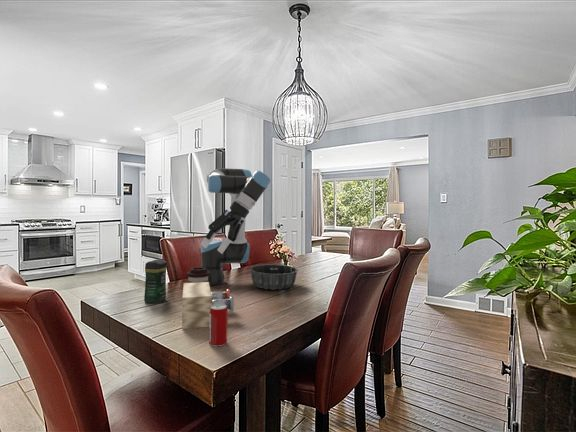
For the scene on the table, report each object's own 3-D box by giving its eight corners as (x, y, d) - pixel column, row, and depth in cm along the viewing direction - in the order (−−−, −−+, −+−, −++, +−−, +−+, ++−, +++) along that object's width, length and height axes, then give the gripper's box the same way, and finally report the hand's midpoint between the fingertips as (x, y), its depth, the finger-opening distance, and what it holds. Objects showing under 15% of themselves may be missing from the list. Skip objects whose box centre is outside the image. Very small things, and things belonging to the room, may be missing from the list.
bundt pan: (307, 287, 174) (308, 269, 173) (272, 296, 155) (272, 275, 155) (274, 279, 192) (275, 262, 192) (239, 285, 173) (240, 267, 173)
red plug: (228, 300, 134) (228, 287, 134) (230, 304, 129) (230, 291, 129) (198, 302, 130) (198, 289, 130) (199, 306, 125) (199, 292, 125)
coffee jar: (158, 304, 137) (159, 261, 137) (141, 303, 138) (141, 261, 138) (169, 298, 147) (169, 258, 147) (152, 297, 148) (153, 257, 147)
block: (208, 307, 134) (208, 281, 134) (211, 326, 113) (211, 295, 113) (183, 309, 131) (183, 283, 131) (182, 329, 110) (182, 297, 110)
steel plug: (231, 308, 124) (231, 294, 123) (233, 313, 118) (233, 298, 118) (199, 311, 120) (199, 296, 120) (199, 315, 115) (200, 300, 114)
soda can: (229, 344, 99) (230, 306, 98) (213, 348, 96) (213, 309, 95) (222, 338, 103) (223, 301, 103) (206, 342, 100) (206, 304, 100)
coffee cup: (182, 301, 142) (182, 268, 142) (201, 297, 150) (202, 265, 149) (193, 306, 136) (194, 271, 135) (213, 301, 143) (214, 268, 142)
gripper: (236, 200, 114) (202, 249, 113) (259, 218, 138) (231, 258, 136) (221, 190, 117) (188, 238, 116) (247, 209, 140) (219, 249, 139)
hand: (211, 249), depth 126 cm, fingers open, 13 cm apart
